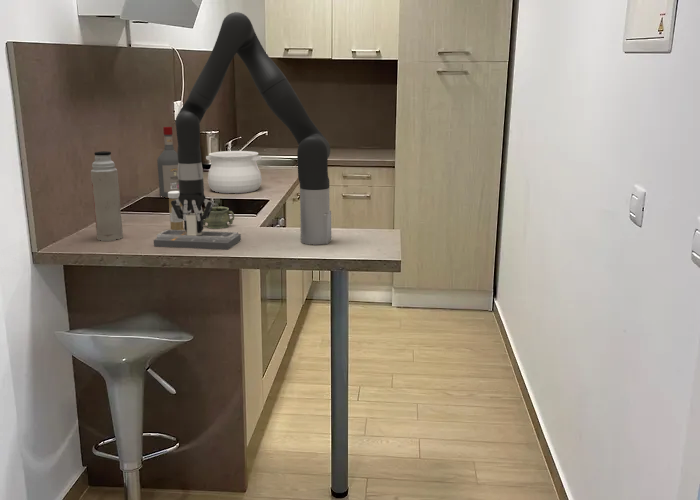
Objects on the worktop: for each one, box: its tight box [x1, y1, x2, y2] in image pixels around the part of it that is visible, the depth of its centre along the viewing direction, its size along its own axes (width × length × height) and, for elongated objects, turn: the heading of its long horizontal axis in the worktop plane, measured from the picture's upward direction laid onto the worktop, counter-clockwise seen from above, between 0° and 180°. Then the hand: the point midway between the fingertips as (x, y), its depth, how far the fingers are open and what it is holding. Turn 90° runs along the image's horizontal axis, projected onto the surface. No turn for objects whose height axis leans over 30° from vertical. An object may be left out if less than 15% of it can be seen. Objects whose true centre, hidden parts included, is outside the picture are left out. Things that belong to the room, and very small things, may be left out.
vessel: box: [202, 206, 235, 230], centre depth 239 cm, size 12×9×6 cm
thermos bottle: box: [90, 151, 124, 242], centre depth 219 cm, size 8×8×28 cm
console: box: [153, 229, 242, 250], centre depth 215 cm, size 24×12×3 cm, turn 80°
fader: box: [186, 212, 202, 236], centre depth 215 cm, size 3×5×7 cm, turn 170°
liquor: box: [156, 126, 179, 198], centre depth 295 cm, size 9×9×30 cm
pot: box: [205, 150, 263, 194], centre depth 314 cm, size 26×24×17 cm
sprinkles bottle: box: [168, 191, 185, 230], centre depth 232 cm, size 5×5×13 cm
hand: (194, 231), depth 215 cm, fingers closed on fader, 3 cm apart
